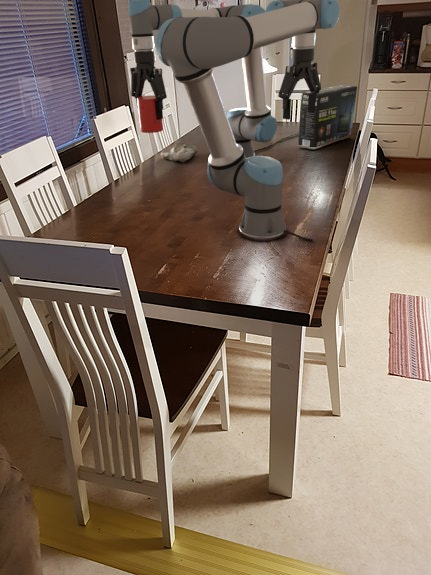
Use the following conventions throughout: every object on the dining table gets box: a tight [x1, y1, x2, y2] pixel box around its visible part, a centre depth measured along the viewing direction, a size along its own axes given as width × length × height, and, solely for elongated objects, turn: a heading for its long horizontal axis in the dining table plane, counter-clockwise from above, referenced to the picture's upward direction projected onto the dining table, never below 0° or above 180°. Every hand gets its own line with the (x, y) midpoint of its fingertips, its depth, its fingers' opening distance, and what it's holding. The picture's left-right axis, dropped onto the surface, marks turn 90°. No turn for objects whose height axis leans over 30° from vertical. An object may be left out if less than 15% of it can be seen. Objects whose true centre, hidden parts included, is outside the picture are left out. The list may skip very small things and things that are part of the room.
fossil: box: [160, 142, 199, 163], centre depth 229 cm, size 18×11×15 cm
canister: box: [136, 95, 164, 134], centre depth 171 cm, size 8×8×12 cm
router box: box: [297, 84, 358, 151], centre depth 238 cm, size 36×11×27 cm, turn 134°
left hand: (150, 117), depth 172 cm, fingers closed on canister, 8 cm apart
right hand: (299, 115), depth 161 cm, fingers open, 13 cm apart
